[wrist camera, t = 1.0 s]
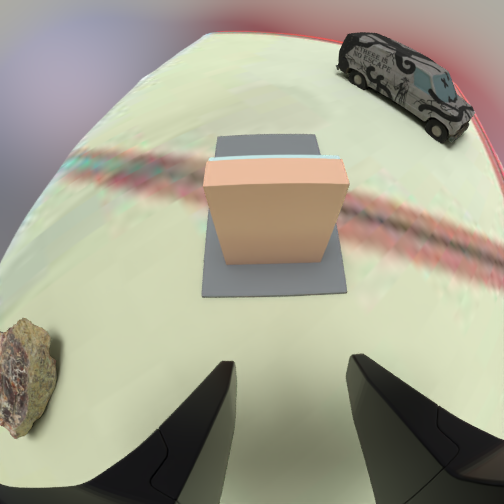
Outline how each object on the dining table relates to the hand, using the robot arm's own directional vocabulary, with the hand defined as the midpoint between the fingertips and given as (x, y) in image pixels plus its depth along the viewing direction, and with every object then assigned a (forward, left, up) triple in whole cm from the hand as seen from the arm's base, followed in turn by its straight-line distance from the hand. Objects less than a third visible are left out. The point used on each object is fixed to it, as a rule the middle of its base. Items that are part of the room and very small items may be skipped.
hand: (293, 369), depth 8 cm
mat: (+12, -12, -13) cm, 21 cm away
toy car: (+11, -45, -13) cm, 49 cm away
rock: (+13, +20, -13) cm, 27 cm away
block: (+8, -7, -12) cm, 16 cm away
